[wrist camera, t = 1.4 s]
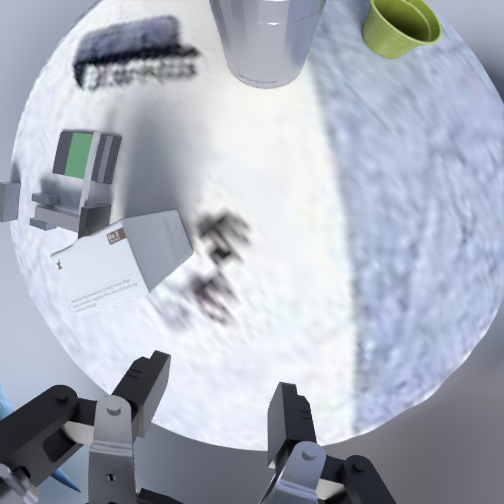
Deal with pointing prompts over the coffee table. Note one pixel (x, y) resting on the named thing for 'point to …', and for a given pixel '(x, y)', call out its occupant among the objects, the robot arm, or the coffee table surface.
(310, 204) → the coffee table surface
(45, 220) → the grey l-shaped bracket
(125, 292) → the skincare box
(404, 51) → the plant pot
